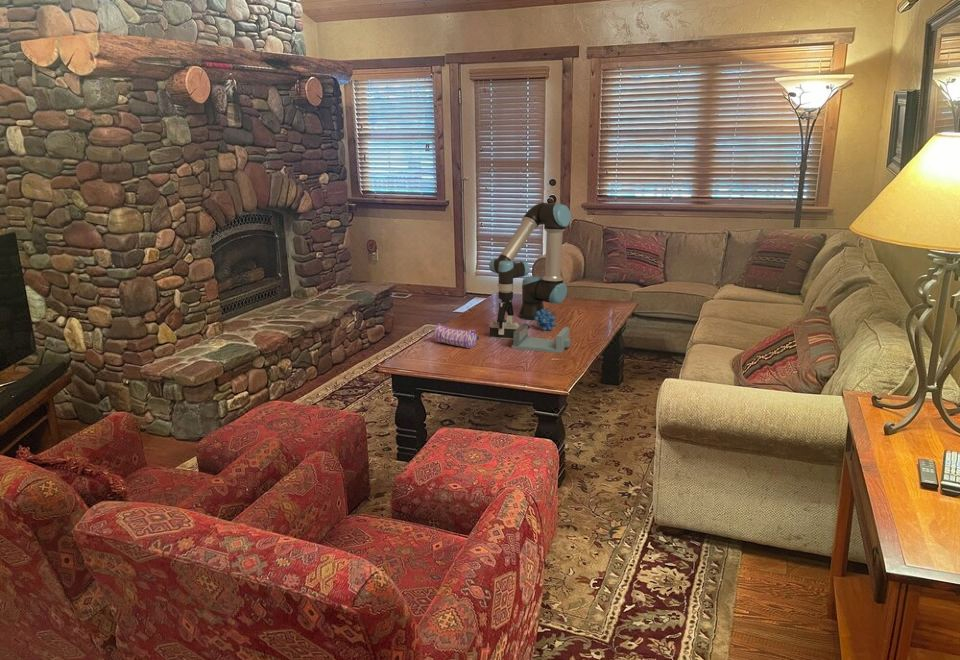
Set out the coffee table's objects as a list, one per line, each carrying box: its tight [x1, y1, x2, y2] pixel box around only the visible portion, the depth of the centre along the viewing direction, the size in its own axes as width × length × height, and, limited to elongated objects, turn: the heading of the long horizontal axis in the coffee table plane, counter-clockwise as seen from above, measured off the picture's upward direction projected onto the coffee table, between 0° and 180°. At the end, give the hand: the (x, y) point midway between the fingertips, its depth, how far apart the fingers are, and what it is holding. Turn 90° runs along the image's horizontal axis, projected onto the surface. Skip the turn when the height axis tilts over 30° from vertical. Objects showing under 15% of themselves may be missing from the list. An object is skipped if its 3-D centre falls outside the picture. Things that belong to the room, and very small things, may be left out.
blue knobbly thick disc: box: [534, 308, 556, 332], centre depth 373 cm, size 12×7×12 cm, turn 69°
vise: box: [511, 326, 571, 354], centre depth 348 cm, size 16×27×8 cm, turn 70°
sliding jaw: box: [513, 323, 531, 346], centre depth 354 cm, size 22×3×7 cm, turn 160°
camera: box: [488, 318, 521, 340], centre depth 364 cm, size 16×9×10 cm, turn 74°
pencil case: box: [433, 323, 480, 349], centre depth 352 cm, size 22×9×10 cm, turn 61°
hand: (505, 331), depth 367 cm, fingers open, 13 cm apart
